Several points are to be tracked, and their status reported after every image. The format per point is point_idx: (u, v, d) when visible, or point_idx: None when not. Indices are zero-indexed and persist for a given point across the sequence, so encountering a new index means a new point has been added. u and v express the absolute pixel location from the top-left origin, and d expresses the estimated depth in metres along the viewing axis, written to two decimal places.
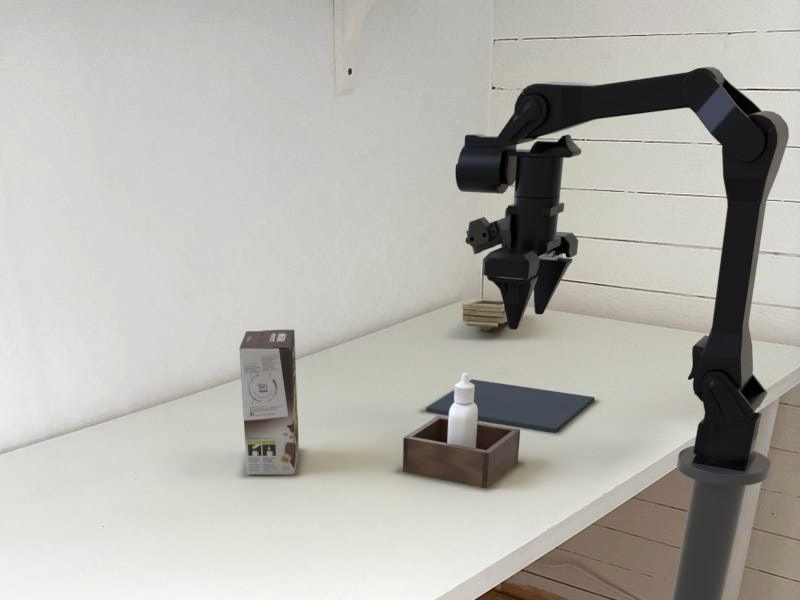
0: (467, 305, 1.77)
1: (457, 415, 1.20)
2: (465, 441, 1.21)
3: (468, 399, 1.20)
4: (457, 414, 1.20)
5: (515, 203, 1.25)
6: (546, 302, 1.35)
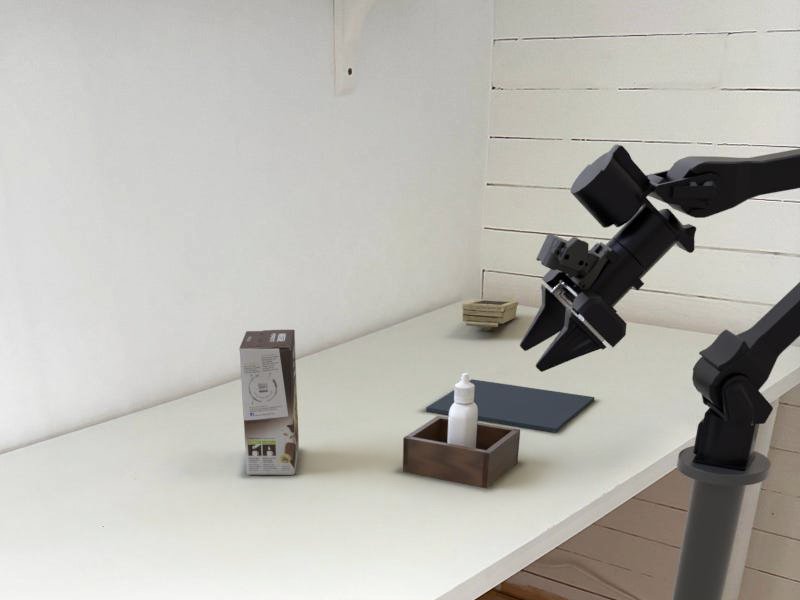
0: (467, 305, 1.77)
1: (457, 415, 1.20)
2: (465, 441, 1.21)
3: (468, 399, 1.20)
4: (457, 414, 1.20)
5: (617, 252, 1.12)
6: (537, 343, 1.24)
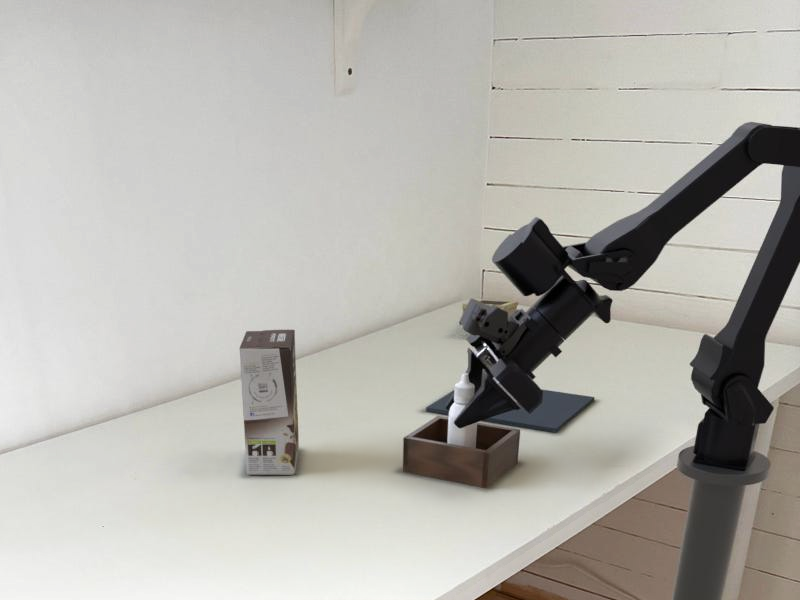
0: None
1: (456, 415, 1.20)
2: (464, 441, 1.21)
3: (468, 399, 1.20)
4: (456, 414, 1.20)
5: (536, 320, 1.15)
6: None
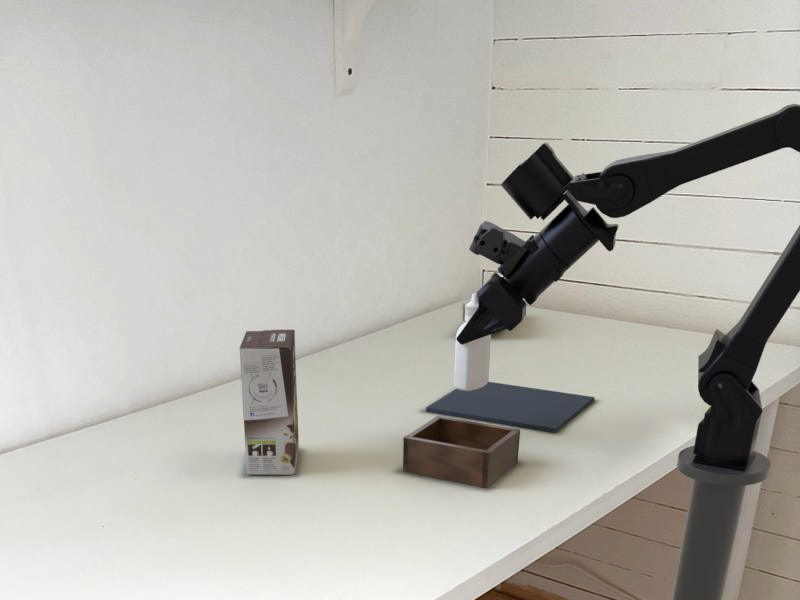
0: None
1: None
2: (467, 358, 1.29)
3: None
4: None
5: (537, 243, 1.20)
6: None
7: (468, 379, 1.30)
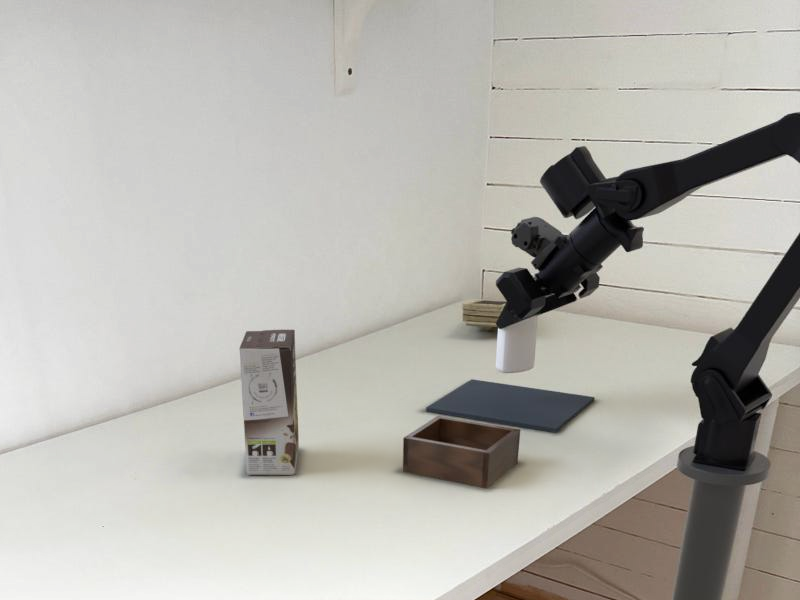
0: (467, 305, 1.77)
1: None
2: (504, 342, 1.40)
3: None
4: None
5: (566, 240, 1.28)
6: None
7: (505, 362, 1.41)
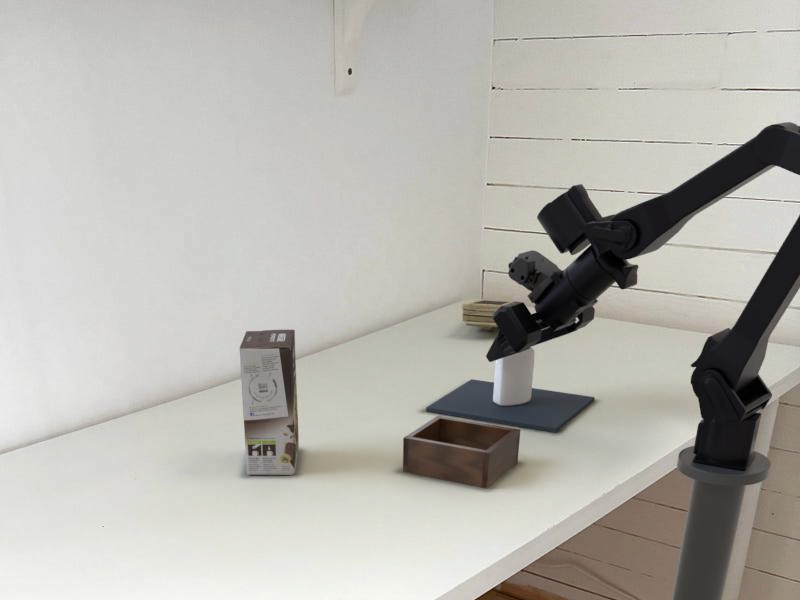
0: (467, 305, 1.77)
1: None
2: (501, 376, 1.42)
3: None
4: None
5: (562, 276, 1.31)
6: (534, 344, 1.45)
7: (502, 395, 1.44)
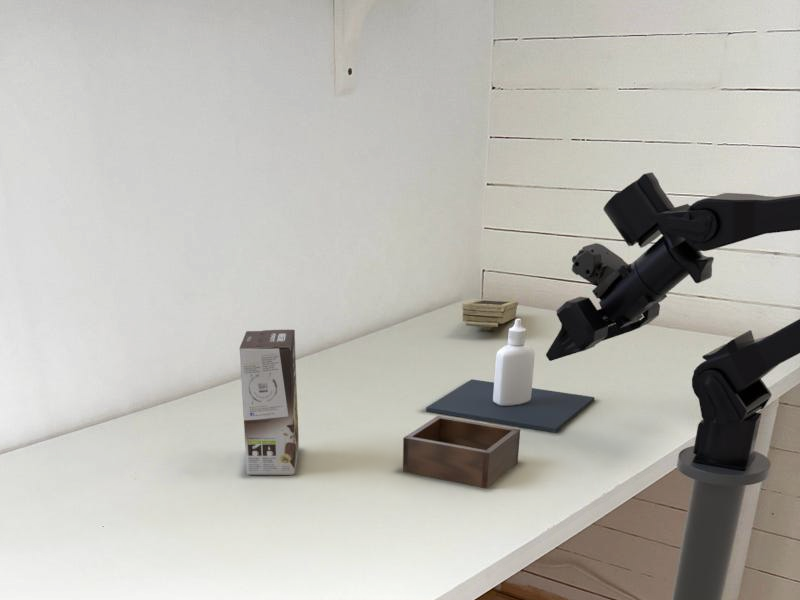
0: (467, 305, 1.77)
1: (499, 352, 1.41)
2: (501, 376, 1.42)
3: (513, 341, 1.40)
4: (499, 351, 1.41)
5: (630, 269, 1.24)
6: None
7: (502, 395, 1.44)
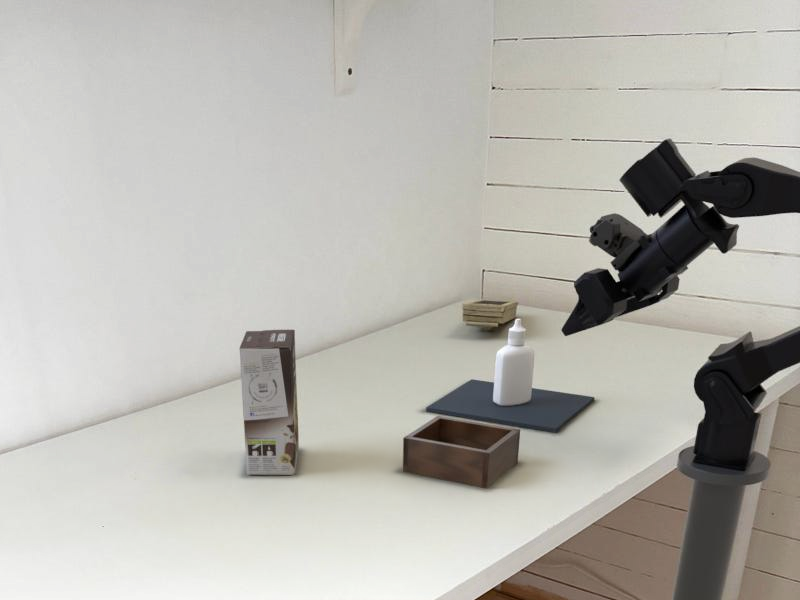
0: (467, 305, 1.77)
1: (499, 352, 1.41)
2: (501, 376, 1.42)
3: (513, 341, 1.41)
4: (499, 351, 1.41)
5: (651, 239, 1.19)
6: None
7: (502, 395, 1.44)
